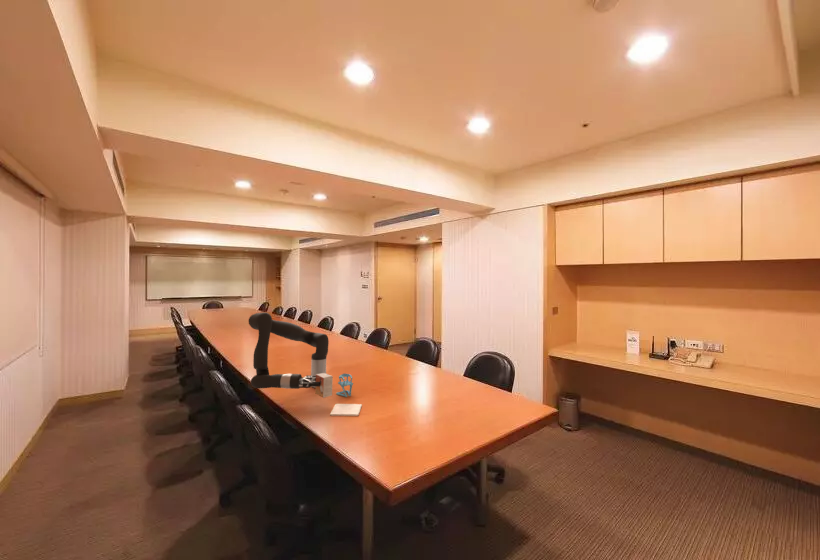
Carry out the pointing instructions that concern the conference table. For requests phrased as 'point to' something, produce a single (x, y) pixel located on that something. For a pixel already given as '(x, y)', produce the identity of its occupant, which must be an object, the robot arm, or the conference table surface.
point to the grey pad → (346, 410)
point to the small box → (324, 385)
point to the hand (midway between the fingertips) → (322, 381)
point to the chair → (345, 383)
